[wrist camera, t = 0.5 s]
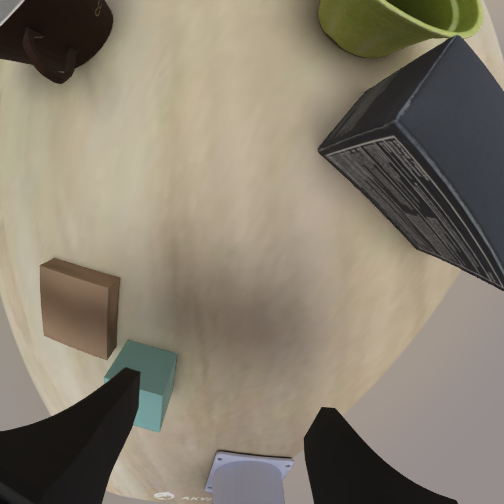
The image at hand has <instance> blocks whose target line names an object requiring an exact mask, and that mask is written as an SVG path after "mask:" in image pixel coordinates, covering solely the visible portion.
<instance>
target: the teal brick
mask: <svg viewBox="0 0 504 504" xmlns="http://www.w3.org/2000/svg"><path fill="white" fill-rule="evenodd" d="M176 360H177V353H173V352H169V351H165V350H162V349H158V348H154V347H151V346H147V345H144V344H140V343H137V342H134V341H130V340H128V341H127V343H126V344H125V346H124V347H123V349H122V350H121V352H120V353H119V355H118V357H117V358H116V360H115V361H114V363H113V364H112V366H111V367H110V369H109V371H108V372H107V374H106V375H105V377H104V383H106V382H108V381H109V380H110V379H111V378H113V377H114V376H115V375H116V374H117V373H119V372H120V371H121V370H122V369H123V368H125V367H127V368H130V369H133V370H136V371H140V372H141V375H140V392H139V408H138V411H137V414H136V417H135V420H134V423H133V425H135V426H138V427H141V428H145V429H148V430H152V431H155V432H159V433H160V430H161V426H162V423H163V420H164V416H165V413H166V410H167V406H168V403H169V400H170V396H171V393H172V389H173V382H174V374H175V367H176Z"/></svg>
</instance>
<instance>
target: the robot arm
mask: <svg viewBox="0 0 504 504" xmlns="http://www.w3.org/2000/svg"><path fill="white" fill-rule="evenodd" d="M140 375H141V372H140V371H136V370H133V369H130V368H127V367H125V368H123V369H122V370H121V371H120V372H119V373H117V374H116V375H115V376H114V377H113V378H111V379H110V380H109V381H108V382H106V383H105V384H104V385H103V386H101V387H100V388H98V389H97V390H96V391H94V392H93V393H92V394H90V395H89V396H87V397H86V398H84V399H82V400H81V401H79V402H78V403H76V404H75V405H73V406H71V407H69V408H68V409H66V410H64V411H62V412H60V413H58V414H56V415H54V416H51V417H49V418H46V419H44V420H41V421H39V422H36V423H33V424H30V425H27V426H23V427H19V428H15V429H11V430H6V431H0V504H102V501H103V497H104V493H105V490H106V487H107V484H108V480H109V477H110V474H111V472H112V469H113V467H114V465H115V463H116V461H117V458H118V456H119V454H120V452H121V450H122V448H123V446H124V444H125V442H126V439H127V437H128V435H129V433H130V431H131V429H132V426H133V423H134V420H135V417H136V414H137V411H138V408H139V392H140ZM304 452H305V461H306V466H307V471H308V475H309V481H310V485H311V490H312V494H313V499H314V504H458V503H457V501H456V500H454V499H450V498H448V497H445V496H442V495H439V494H436V493H434V492H432V491H430V490H428V489H425V488H423V487H422V486H420V485H418V484H416V483H414V482H413V481H411V480H409V479H408V478H406V477H405V476H403V475H402V474H400V473H399V472H398V471H396V470H395V469H394V468H392V467H391V466H390V465H389V464H387V463H386V462H385V461H384V460H383V459H382V458H380V457H379V456H378V455H377V454H376V453H375V452H374V451H373V450H372V449H371V448H370V447H369V446H368V445H367V444H366V443H365V442H364V441H363V439H362V438H361V437H360V436H359V435H358V434H357V433H356V432H355V431H354V429H353V428H352V427H351V426H350V425H349V424H348V422H347V421H346V420H345V419H344V418H343V417H342V415H341V414H340V413H339V412H338V411H337V410H336V409H335V408H327V407H321V409H320V411H319V413H318V414H317V416H316V418H315V420H314V421H313V423H312V425H311V427H310V428H309V430H308V432H307V434H306V435H305V437H304ZM293 464H294V460H293V459H287V458H272V457H261V456H251V455H243V454H236V453H229V452H222V451H220V452H217V453H216V456H215V459H214V462H213V465H212V468H211V471H210V474H209V477H208V480H207V483H206V486H205V491H206V492H208V493H213V494H212V504H285V501H284V492H283V483H282V480H283V479H284V478H285V476H286V475H287V473H288V472H289V470H290V469H291V467H292V466H293Z"/></svg>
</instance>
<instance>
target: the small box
mask: <svg viewBox="0 0 504 504" xmlns="http://www.w3.org/2000/svg"><path fill="white" fill-rule="evenodd" d="M318 152H319V153H320V154H321V155H322V156H323V157H324V158H326V159H327V160H328V161H329V162H330V163H331V164H332V165H333V166H334V167H335V168H336V169H338V170H339V171H340V172H341V173H342V174H343V175H344V176H345V177H346V178H347V179H349V180H350V181H351V182H352V183H353V184H354V185H355V187H356V188H358V189H359V190H360V191H361V192H362V193H363V194H364V195H365V196H366V197H367V198H368V199H369V200H370V201H371V202H372V203H373V204H374V205H375V206H376V207H377V208H378V209H379V210H380V211H381V212H382V213H383V214H384V215H385V216H386V217H387V218H388V219H389V220H390V221H391V222H392V223H393V224H394V225H395V226H396V228H397V229H398V230H399V231H400V232H401V233H402V234H403V235H404V236H405V237H406V238H407V239H408V240H409V241H410V242H411V243H412V245H413V246H414V247H415V248H416V249H417V250H419V251H422V252H424V253H427V254H429V255H432V256H434V257H437V258H439V259H441V260H443V261H446V262H448V263H450V264H452V265H454V266H456V267H459V268H460V269H462V270H463V271H465V272H468V273H469V274H471V275H474V276H476V277H477V278H480V279H481V280H483V281H485V282H487V283H489V284H491V285H493V286H495V287H497V288H498V289H500V290H502V291H504V91H503V90H502V88H501V87H500V85H499V84H498V82H497V81H496V80H495V78H494V77H493V76H492V74H491V73H490V72H489V70H488V69H487V68H486V66H485V65H484V64H483V62H482V61H481V60H480V58H479V57H478V56H477V55H476V54H475V52H474V51H473V50H472V49H471V48H470V46H469V45H468V44H467V43H466V42H465V41H464V39H463V38H462V37H461V36H460V35H455V36H453V37H451V38H449V39H447V40H446V41H445V42H443V43H442V44H440V45H438V46H436V47H435V48H433V49H432V50H430V51H428V52H427V53H425V54H423V55H422V56H420V57H418V58H417V59H415V60H414V61H412V62H411V63H409V64H408V65H406V66H404V67H403V68H401V69H400V70H398V71H396V72H395V73H393V74H392V75H390V76H389V77H387V78H386V79H384V80H382V81H381V82H380V83H378V84H377V85H375V86H374V87H372V88H370V89H369V90H367V91H366V92H365V93H364V94H363V95H362V97H361V98H360V99H359V100H358V101H357V102H356V103H355V105H354V106H353V107H352V108H351V109H350V110H349V112H348V113H347V114H346V115H345V116H344V118H343V119H342V120H341V121H340V122H339V123H338V125H337V126H336V127H335V128H334V130H333V131H332V132H331V133H330V134H329V136H328V137H327V138H326V139H325V140H324V142H323V143H322V144H321V145H320V146H319V148H318Z"/></svg>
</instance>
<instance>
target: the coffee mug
mask: <svg viewBox="0 0 504 504" xmlns="http://www.w3.org/2000/svg"><path fill="white" fill-rule="evenodd" d="M112 25H113V15H112V13H111V10H110V9H109V7H108V5H107V3H106V2H105V0H0V59H5V60H11V61H16V62H21V63H26V64H31V65H34V66H35V68H36V69H37V70H38V71H39V72H40V73H41V74H42V75H43V76H45V77H46V78H48V79H50V80H51V81H53V82H55V83H58V84H62V83H64V82H65V81H67V80H68V79H69V78H70V77H71V76H72V74H73V72H74V69H75V68H77V67H79V66H81V65H82V64H84V63H85V62H87V61H88V60H89V59H91V58H92V57H93V56H94V55H95V54H96V53H97V52H98V51H99V50H100V49H101V47H102V46H103V44H104V43H105V42H106V40H107V38H108V36H109V34H110V32H111V29H112ZM58 71H65V72H64V73H60V72H58Z"/></svg>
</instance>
